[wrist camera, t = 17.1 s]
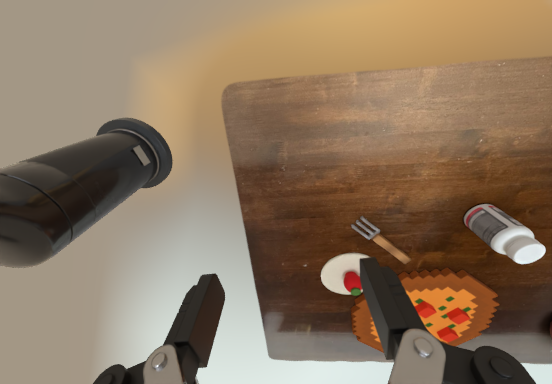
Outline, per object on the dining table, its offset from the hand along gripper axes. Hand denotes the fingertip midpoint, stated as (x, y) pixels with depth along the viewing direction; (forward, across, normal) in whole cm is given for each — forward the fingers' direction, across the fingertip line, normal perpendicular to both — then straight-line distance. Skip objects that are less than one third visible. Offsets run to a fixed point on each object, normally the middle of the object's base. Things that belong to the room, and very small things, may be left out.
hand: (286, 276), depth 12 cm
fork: (+26, -15, +23) cm, 38 cm away
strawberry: (+26, -9, +32) cm, 43 cm away
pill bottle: (+26, -32, +20) cm, 46 cm away
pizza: (+27, -25, +49) cm, 61 cm away
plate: (+27, -9, +32) cm, 43 cm away
